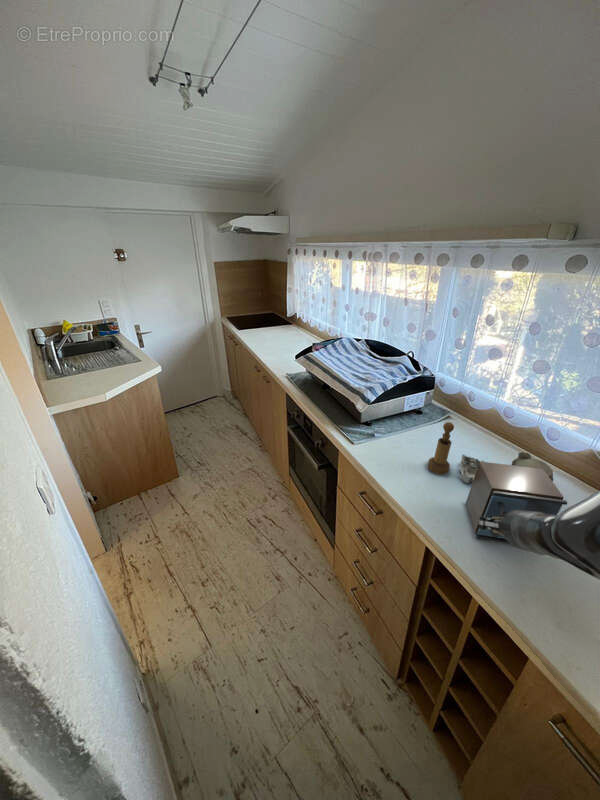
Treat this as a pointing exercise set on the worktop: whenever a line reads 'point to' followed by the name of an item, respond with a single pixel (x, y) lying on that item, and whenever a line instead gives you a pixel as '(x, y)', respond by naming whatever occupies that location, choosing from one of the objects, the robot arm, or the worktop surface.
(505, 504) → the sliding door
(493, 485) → the cupboard
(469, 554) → the worktop surface
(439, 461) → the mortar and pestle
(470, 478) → the grey lumpy piece
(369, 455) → the worktop surface
